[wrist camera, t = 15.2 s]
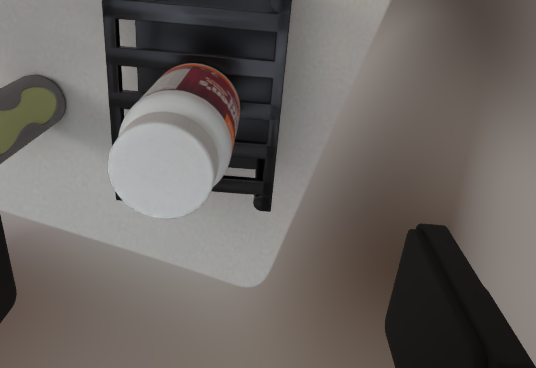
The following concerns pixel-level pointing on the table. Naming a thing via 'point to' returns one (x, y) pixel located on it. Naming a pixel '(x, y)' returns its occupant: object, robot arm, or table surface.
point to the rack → (216, 56)
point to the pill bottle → (176, 142)
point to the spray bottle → (27, 112)
